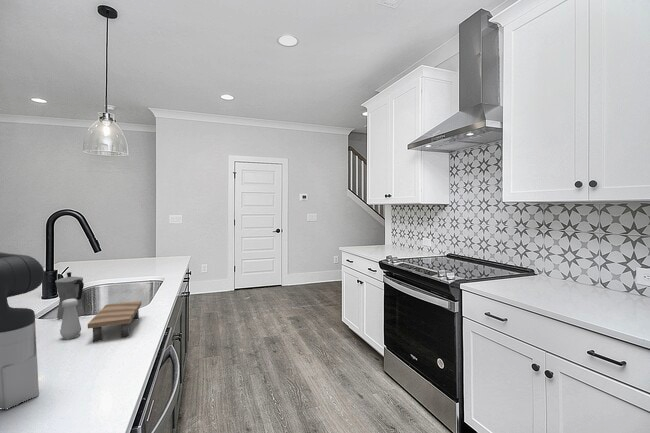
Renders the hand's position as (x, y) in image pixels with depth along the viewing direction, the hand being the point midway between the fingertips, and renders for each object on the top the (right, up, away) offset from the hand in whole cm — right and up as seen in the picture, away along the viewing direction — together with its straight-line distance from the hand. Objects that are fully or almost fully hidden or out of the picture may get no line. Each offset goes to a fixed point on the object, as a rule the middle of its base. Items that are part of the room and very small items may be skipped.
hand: (28, 320), depth 107 cm
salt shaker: (+10, -7, +5) cm, 14 cm away
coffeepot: (-5, -7, +26) cm, 27 cm away
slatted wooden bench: (+22, -7, +12) cm, 26 cm away
